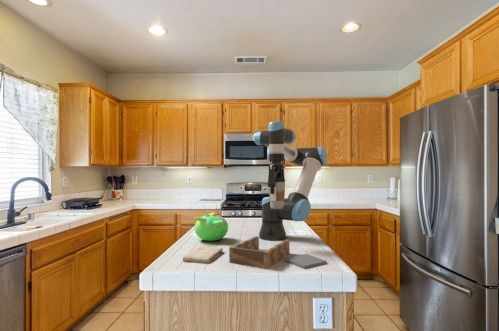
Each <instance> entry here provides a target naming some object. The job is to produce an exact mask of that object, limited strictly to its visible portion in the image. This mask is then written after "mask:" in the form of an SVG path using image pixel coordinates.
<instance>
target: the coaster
mask: <svg viewBox="0 0 499 331" xmlns="http://www.w3.org/2000/svg"><path fill="white" fill-rule="evenodd" d="M283 261H285V262H287V263H289V264H291V265H294V266H296V267H299V268H301V269H308V268H309V269H310V268H313V267H318V266H321V265H325V263H326V264H327V262H328V261H327V260H325V259H323V258H320V257H317V256H314V255H310V254H308V253H304V254H298V255H293V256H289V257H284V258H283Z"/></svg>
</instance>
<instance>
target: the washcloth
mask: <svg viewBox="0 0 499 331" xmlns="http://www.w3.org/2000/svg"><path fill="white" fill-rule="evenodd" d="M223 250H224V248H222V247H211V246H199V247H196V248H195V247H194V248H193V249H192V250H190V251H189V252H187V253H186V254H184V256H182V261H183V262H185V263H187V262H188V263H197V264H198V263H200V264H210V263H211V262H213V261H214V260H215V259H216V258H218V256H220V255H221V254H223V253H224V251H223Z"/></svg>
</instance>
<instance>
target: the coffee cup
mask: <svg viewBox="0 0 499 331" xmlns="http://www.w3.org/2000/svg"><path fill="white" fill-rule="evenodd" d="M284 177H285V176H284ZM284 177H276V184H275V187H276V201H270V207H271V208H273V209H281V208H283V207H284V198H285V195H286V194H285V192H286V191H285V190H286V189H285V188H286V179H284ZM268 192H269V193H268V197H270V187H268Z"/></svg>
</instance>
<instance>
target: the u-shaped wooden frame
mask: <svg viewBox="0 0 499 331" xmlns="http://www.w3.org/2000/svg"><path fill="white" fill-rule="evenodd" d="M259 240H260V238H259V235H257V236H253V237H250V238H248V239H246V240H243V241H241V242H238V243H236V244H234V245H231V246H230V247H229V249H228V250H229V251H228V254H229V258H228V260H229V261H228V262H229V263H231V264H238V265H243V266H247V267H248V266H249V267H256V268H260V269H266V270H267V269H269V268H271V267H272V266H273V265H275V264H276V263H278V262H279V261H281V260H282V259H284V258H286V256H288V255H289V254H290V250H291V248H290V239H284V240H283V241H282V242H280V243H278V244H276V245H273V246H272V247H271V248H269V249H267V250H260V247H259V246H260V244H259V243H260V241H259Z"/></svg>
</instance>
